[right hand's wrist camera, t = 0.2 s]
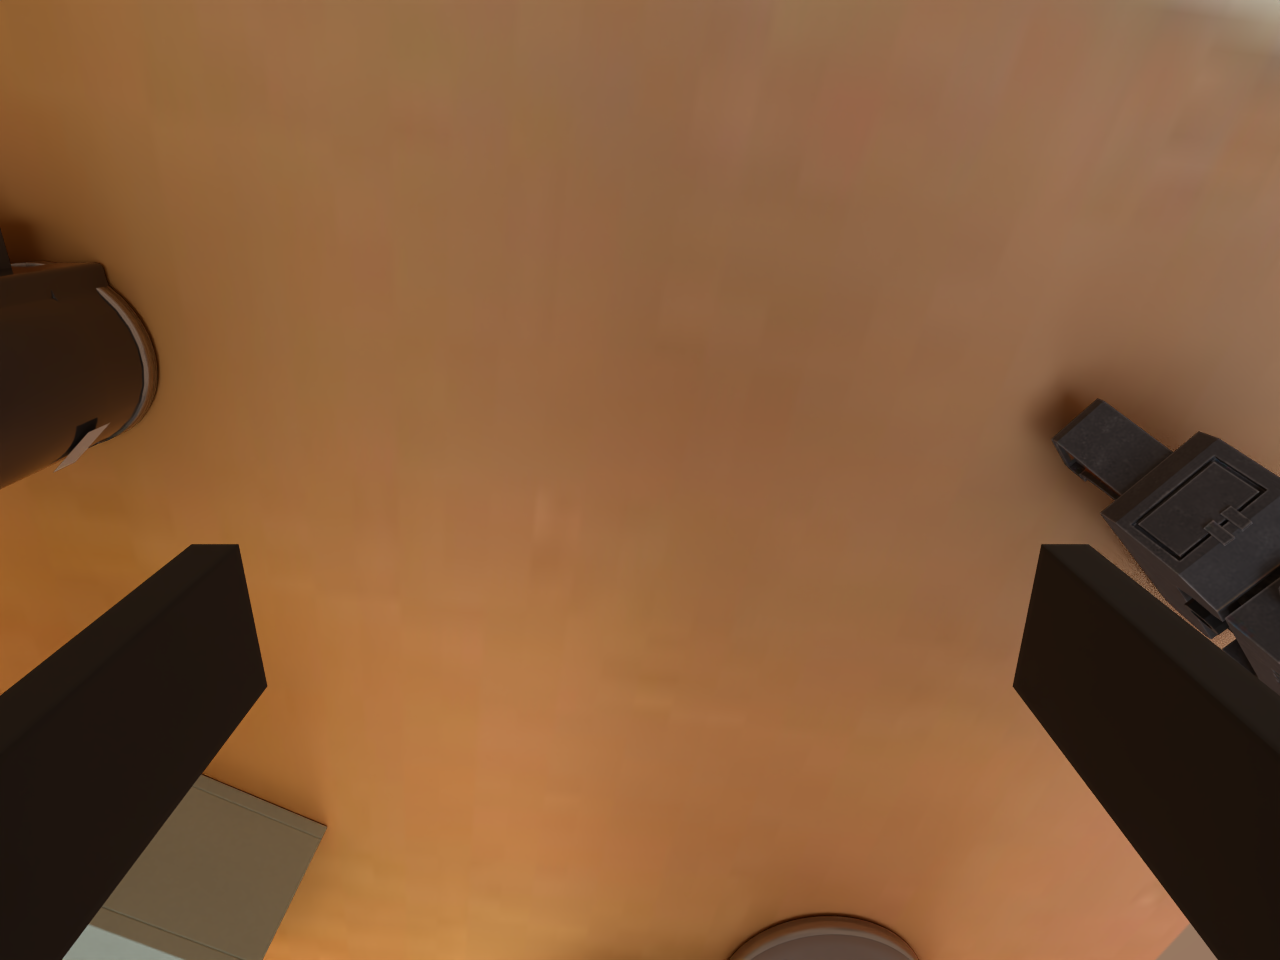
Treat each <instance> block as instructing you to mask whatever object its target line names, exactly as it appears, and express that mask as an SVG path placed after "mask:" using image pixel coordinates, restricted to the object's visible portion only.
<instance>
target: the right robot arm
mask: <svg viewBox="0 0 1280 960" xmlns="http://www.w3.org/2000/svg"><path fill="white" fill-rule="evenodd" d="M266 687H267V682H266V677H265V673H264V668H263V663H262V658H261V653H260V648H259V643H258V638H257V633H256V628H255V623H254V618H253V613H252V608H251V604H250V599H249V594H248V589H247V584H246V579H245V574H244V569H243V564H242V559H241V554H240V549H239V544H191V545H190V546H189V547H188V548H186V549H185V550H184V551H183V552H181V553H180V554H179V555H178V556H176V557H175V558H174V559H173V560H171V561H170V562H169V563H167V564H166V565H165V566H164V567H162V568H161V569H160V570H159V571H157V572H156V573H155V574H154V575H152V576H151V577H150V578H148V579H147V580H146V581H145V582H143V583H142V584H141V585H140V586H138V587H137V588H136V589H135V590H133V591H132V592H131V593H130V594H128V595H127V596H126V597H124V598H123V599H122V600H121V601H119V602H118V603H117V604H116V605H114V606H113V607H112V608H111V609H109V610H108V611H107V612H105V613H104V614H103V615H102V616H100V617H99V618H98V619H97V620H95V621H94V622H93V623H92V624H90V625H89V626H88V627H87V628H85V629H84V630H83V631H81V632H80V633H79V634H78V635H76V636H75V637H74V638H73V639H71V640H70V641H69V642H68V643H66V644H65V645H64V646H62V647H61V648H60V649H59V650H57V651H56V652H55V653H54V654H52V655H51V656H50V657H49V658H47V659H46V660H45V661H44V662H42V663H41V664H40V665H38V666H37V667H36V668H35V669H33V670H32V671H31V672H30V673H28V674H27V675H26V676H25V677H23V678H22V679H21V680H19V681H18V682H17V683H16V684H14V685H13V686H12V687H11V688H9V689H8V690H7V691H6V692H4V693H3V694H2V695H1V696H0V960H62V959H63V958H64V956H65V955H66V954H67V952H68V951H69V950H70V948H71V947H72V946H73V944H74V943H75V942H76V940H77V939H78V938H79V936H80V935H81V934H82V932H83V931H84V930H85V928H86V927H87V926H88V924H89V923H90V922H91V920H92V919H93V918H94V916H95V915H96V914H97V912H98V911H99V910H100V908H101V907H102V906H103V904H104V903H105V902H106V900H107V899H108V898H109V896H110V895H111V894H112V893H113V891H114V890H115V889H116V887H117V886H118V885H119V883H120V882H121V881H122V879H123V878H124V877H125V875H126V874H127V873H128V871H129V870H130V869H131V867H132V866H133V865H134V863H135V862H136V861H137V859H138V858H139V857H140V855H141V854H142V853H143V851H144V850H145V849H146V847H147V846H148V845H149V843H150V842H151V841H152V839H153V838H154V837H155V835H156V834H157V833H158V831H159V830H160V829H161V827H162V826H163V825H164V823H165V822H166V821H167V819H168V818H169V817H170V815H171V814H172V813H173V811H174V810H175V809H176V807H177V806H178V805H179V803H180V802H181V801H182V799H183V798H184V797H185V795H186V794H187V793H188V791H189V790H190V789H191V787H192V786H193V785H194V783H195V782H196V781H197V779H198V778H199V777H200V775H201V774H202V773H203V771H204V770H205V769H206V767H207V766H208V765H209V763H210V762H211V761H212V759H213V758H214V757H215V755H216V754H217V753H218V751H219V750H220V749H221V747H222V746H223V745H224V743H225V742H226V741H227V739H228V738H229V737H230V735H231V734H232V733H233V731H234V730H235V729H236V727H237V726H238V725H239V723H240V722H241V721H242V719H243V718H244V717H245V715H246V714H247V713H248V711H249V710H250V709H251V707H252V706H253V705H254V703H255V702H256V701H257V699H258V698H259V697H260V695H261V694H262V693H263V691H264V690H265V689H266ZM1013 687H1014V689H1015V690H1016V691H1017V693H1018V694H1019V695H1020V697H1021V698H1022V699H1023V701H1024V702H1025V703H1026V705H1027V706H1028V707H1029V709H1030V710H1031V711H1032V713H1033V714H1034V715H1035V717H1036V718H1037V719H1038V721H1039V722H1040V723H1041V725H1042V726H1043V727H1044V729H1045V730H1046V731H1047V733H1048V734H1049V735H1050V737H1051V738H1052V739H1053V741H1054V742H1055V743H1056V745H1057V746H1058V747H1059V749H1060V750H1061V751H1062V753H1063V754H1064V755H1065V757H1066V758H1067V759H1068V761H1069V762H1070V763H1071V765H1072V766H1073V767H1074V769H1075V770H1076V771H1077V773H1078V774H1079V775H1080V777H1081V778H1082V779H1083V781H1084V782H1085V783H1086V785H1087V786H1088V787H1089V789H1090V790H1091V791H1092V793H1093V794H1094V795H1095V797H1096V798H1097V799H1098V801H1099V802H1100V803H1101V805H1102V806H1103V807H1104V809H1105V810H1106V811H1107V813H1108V814H1109V815H1110V817H1111V818H1112V819H1113V821H1114V822H1115V823H1116V825H1117V826H1118V827H1119V829H1120V830H1121V831H1122V833H1123V834H1124V835H1125V837H1126V838H1127V839H1128V841H1129V842H1130V843H1131V845H1132V846H1133V847H1134V849H1135V850H1136V851H1137V853H1138V854H1139V855H1140V857H1141V858H1142V859H1143V861H1144V862H1145V863H1146V865H1147V866H1148V867H1149V869H1150V870H1151V871H1152V873H1153V874H1154V875H1155V877H1156V878H1157V879H1158V881H1159V882H1160V883H1161V885H1162V886H1163V887H1164V889H1165V890H1166V891H1167V893H1168V894H1169V895H1170V896H1171V898H1172V899H1173V900H1174V902H1175V903H1176V904H1177V906H1178V907H1179V908H1180V910H1181V911H1182V912H1183V914H1184V915H1185V916H1186V918H1187V919H1188V920H1189V922H1190V923H1191V924H1192V926H1193V927H1194V928H1195V930H1196V931H1197V932H1198V934H1199V935H1200V936H1201V938H1202V939H1203V940H1204V942H1205V943H1206V944H1207V946H1208V947H1209V948H1210V950H1211V951H1212V952H1213V954H1214V955H1215V956H1216V958H1217V959H1218V960H1280V696H1279V695H1278V694H1277V693H1276V692H1274V691H1273V690H1272V689H1271V688H1269V687H1268V686H1267V685H1266V684H1264V683H1263V682H1262V681H1261V680H1259V679H1258V678H1257V677H1255V676H1254V675H1253V674H1252V673H1250V672H1249V671H1248V670H1247V669H1245V668H1244V667H1243V666H1242V665H1240V664H1239V663H1238V662H1236V661H1235V660H1234V659H1233V658H1231V657H1230V656H1229V655H1228V654H1226V653H1225V652H1224V651H1223V650H1221V649H1220V648H1219V647H1218V646H1216V645H1215V644H1214V643H1212V642H1211V641H1210V640H1209V639H1207V638H1206V637H1205V636H1204V635H1202V634H1201V633H1200V632H1199V631H1197V630H1196V629H1195V628H1193V627H1192V626H1191V625H1190V624H1188V623H1187V622H1186V621H1185V620H1183V619H1182V618H1181V617H1180V616H1178V615H1177V614H1176V613H1175V612H1173V611H1172V610H1171V609H1169V608H1168V607H1167V606H1166V605H1164V604H1163V603H1162V602H1161V601H1159V600H1158V599H1157V598H1156V597H1154V596H1153V595H1152V594H1150V593H1149V592H1148V591H1147V590H1145V589H1144V588H1143V587H1142V586H1140V585H1139V584H1138V583H1137V582H1135V581H1134V580H1133V579H1132V578H1130V577H1129V576H1128V575H1126V574H1125V573H1124V572H1123V571H1121V570H1120V569H1119V568H1118V567H1116V566H1115V565H1114V564H1113V563H1111V562H1110V561H1109V560H1107V559H1106V558H1105V557H1104V556H1102V555H1101V554H1100V553H1099V552H1097V551H1096V550H1095V549H1094V548H1092V547H1091V546H1090V545H1089V544H1041V549H1040V554H1039V559H1038V564H1037V569H1036V574H1035V579H1034V584H1033V589H1032V594H1031V599H1030V604H1029V608H1028V613H1027V618H1026V623H1025V628H1024V633H1023V638H1022V643H1021V648H1020V653H1019V658H1018V663H1017V668H1016V673H1015V677H1014V682H1013ZM729 960H918V958H917V956H916V954H915V953H914V951H913V950H912V949H911V948H910V946H909V945H908V944H907V943H906V942H905V941H903V940H902V939H901V938H900V937H898V936H897V935H896V934H894V933H893V932H891V931H889V930H887V929H885V928H883V927H881V926H879V925H876V924H874V923H871V922H868V921H864V920H860V919H855V918H850V917H841V916H817V917H808V918H802V919H797V920H793V921H789V922H786V923H783V924H780V925H777V926H774V927H772V928H770V929H767V930H765V931H763V932H762V933H760V934H758V935H756V936H755V937H753V938H751V939H750V940H749V941H747V942H746V943H745V944H743V945H742V946H741V947H740V948H739V949H738V950H737V951H736V952H735V953H734V954H733V955H732V956H731V958H730V959H729Z"/></svg>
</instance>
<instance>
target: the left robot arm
mask: <svg viewBox="0 0 1280 960" xmlns="http://www.w3.org/2000/svg"><path fill="white" fill-rule="evenodd" d="M156 386H157V362H156V356H155V352H154V348H153V345H152V342H151V340H150V337H149V335H148V333H147V331H146V329H145V327H144V325H143V324H142V322H141V320H140V319H139V317H138V316H137V314H136V313H135V312H134V310H133V309H132V308H131V307H130V306H129V304H128V303H127V302H126V301H125V300H124V299H123V298H122V297H121V296H120V295H119V294H118V293H117V292H115V291H114V290H113V289H112V288H111V287H110V286H109V284H108V282H107V280H106V276H105V272H104V269H103V267H102V265H101V264H99V263H96V262H90V263H55V262H48V261H32V262H23V263H10V260H9V257H8V253H7V250H6V246H5V243H4V240H3V236H2V233H1V229H0V489H2V488H4V487H6V486H9V485H11V484H13V483H15V482H17V481H19V480H21V479H23V478H25V477H28V476H30V475H32V474H34V473H36V472H38V471H40V470H42V469H44V468H47V467H49V466H51V465H53V464H55V463H57V462H59V461H61V460H63V459H65V460H64V461H63V462H62V463H61V464H60V465H59V466H58V468H57V469H56V470H55V471H54V472H56V471H58V470H60V469H62V468H64V467H66V466H68V465H70V464H72V463H74V462H76V461H77V460H78V459H79V457H80V456H81V455H82V454H83V453H84V452H85V451H86V449H87V448H90V447H92V446H94V445H96V444H99V443H102V442H105V441H107V440H110V439H112V438H114V437H116V436H118V435H120V434H122V433H124V432H126V431H127V430H129V429H130V428H132V427H133V426H134V425H136V424H137V423H138V422H139V421H140V420H141V419H142V418H143V416H144V415H145V414H146V412H147V411H148V409H149V407H150V405H151V403H152V401H153V398H154V395H155V391H156ZM54 472H53V473H54Z"/></svg>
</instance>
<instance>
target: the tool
mask: <svg viewBox="0 0 1280 960" xmlns="http://www.w3.org/2000/svg"><path fill="white" fill-rule="evenodd" d="M1051 440H1052V442H1053V443H1054V445H1055V447H1056V449H1057V451H1058V453H1059V454H1060V456H1061V458H1062V460H1063V462H1064V463H1065V465H1066V466H1067V467H1068V468H1069V469H1070V470H1072V471H1073V472H1074V473H1075V474H1077V475H1078V476H1079V477H1080V478H1081V479H1083V480H1084V481H1085V482H1086V481H1087V480H1089V481H1090V482H1091V483H1093V484H1094V485H1096V486H1097V487H1098V488H1100V489H1101V490H1102V491H1104V492H1105V493H1106V494H1107V495H1109V496H1110V497H1111V498H1113V499H1114V500H1115V501H1114V502H1113V503H1112V504H1110V505H1109V506H1108V507H1107V508H1106V509H1104V510H1103V511H1102V512H1101V513H1100V514H1101V515H1102V516H1103V518H1104V519H1105V520H1106V522H1107V523H1108V524H1109V526H1110V527H1111V528H1112V530H1113V531H1114V532H1115V534H1116V535H1117V536H1118V538H1119V539H1120V540H1121V542H1122V543H1123V544H1124V546H1125V547H1126V548H1127V550H1128V551H1129V552H1130V553H1131V555H1132V556H1133V557H1134V559H1135V560H1136V561H1137V563H1138V564H1139V565H1140V567H1141V568H1142V569H1143V571H1144V572H1145V573H1146V575H1147V576H1148V577H1149V579H1150V580H1151V581H1152V583H1153V584H1154V585H1155V586H1156V588H1157V589H1158V590H1159V592H1160V593H1161V594H1162V596H1163V597H1164V598H1165V600H1166V601H1168V602H1169V603H1170V604H1171V605H1172V606H1173V607H1174V608H1175V609H1176V610H1177V611H1178V612H1179V613H1180V614H1181V615H1183V616H1184V617H1185V618H1186V619H1187V620H1188V621H1189V622H1191V623H1192V624H1193V625H1194V626H1195V627H1196V628H1197V629H1199V630H1200V631H1201V632H1202V633H1203V634H1204V635H1206V636H1207V637H1208V638H1210V639H1212V638H1214V637H1215V636H1216V635H1219V634H1220V633H1222V632H1223V631H1224V630H1226V629H1227V628H1228V629H1229V630H1230V631H1231V632H1232V633H1233V634H1234V636H1235V637H1236V639H1235V640H1234V641H1233V642H1231V643H1230V644H1228V645H1227V646H1226V647H1224V648H1223V649H1222V650H1223V651H1224V652H1225V653H1226V654H1228V655H1229V656H1230V657H1231V658H1233V659H1234V660H1235V661H1236V662H1238V663H1239V664H1240V665H1242V666H1243V667H1244V668H1245V669H1247V670H1248V671H1249V672H1250V673H1252V674H1253V675H1254V676H1255V677H1257V678H1258V679H1259V680H1261V681H1262V682H1263V683H1264V684H1266V685H1267V686H1268V687H1269V688H1271V689H1272V690H1273V691H1274V692H1276V693H1277V694H1278V695H1279V696H1280V477H1278V476H1277V475H1275V474H1274V473H1272V472H1270V471H1269V470H1267V469H1266V468H1264V467H1263V466H1261V465H1260V464H1258V463H1256V462H1255V461H1253V460H1252V459H1250V458H1249V457H1247V456H1246V455H1244V454H1242V453H1241V452H1239V451H1238V450H1236V449H1235V448H1233V447H1232V446H1230V445H1228V444H1227V443H1225V442H1224V441H1222V440H1221V439H1219V438H1216V437H1214V436H1211V435H1208V434H1205V433H1202V432H1197V433H1196V434H1195V435H1194V436H1193V437H1191V438H1190V439H1189V440H1188V441H1187V442H1185V443H1184V444H1183V445H1182V446H1180V447H1179V448H1178V449H1177V450H1176V451H1174V452H1172V451H1171V450H1169V449H1168V448H1167V447H1165V446H1164V445H1163V444H1161V443H1160V442H1159V441H1157V440H1156V439H1155V438H1153V437H1152V436H1150V435H1149V434H1148V433H1146V432H1145V431H1144V430H1142V429H1141V428H1140V427H1138V426H1137V425H1136V424H1134V423H1133V422H1132V421H1130V420H1129V419H1128V418H1126V417H1125V416H1124V415H1122V414H1121V413H1120V412H1118V411H1117V410H1116V409H1114V408H1113V407H1112V406H1110V405H1109V404H1107V403H1106V402H1105V401H1103V400H1100V399H1098V398H1097V399H1096V400H1095V401H1094V402H1093V403H1092V404H1091V405H1089V406H1088V407H1087V408H1086V409H1085V410H1084V411H1083V412H1081V413H1080V414H1079V415H1078V416H1077V417H1076V418H1075V419H1074V420H1072V421H1071V422H1070V423H1069V424H1068V425H1067V426H1066V427H1064V428H1063V429H1062V430H1061V431H1060V432H1059V433H1058V434H1056V435H1055V436H1054V437H1053V438H1052V439H1051Z"/></svg>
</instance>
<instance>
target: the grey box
mask: <svg viewBox="0 0 1280 960" xmlns="http://www.w3.org/2000/svg"><path fill="white" fill-rule="evenodd" d="M326 829H327V827H326V826H324V825H322V824H319V823H317V822H314V821H312V820H310V819H307V818H305V817H302V816H300V815H298V814H295V813H293V812H290V811H288V810H286V809H283V808H281V807H278V806H276V805H274V804H271V803H269V802H266V801H264V800H262V799H259V798H257V797H254V796H252V795H250V794H247V793H245V792H242V791H240V790H237V789H235V788H233V787H230V786H228V785H225V784H223V783H221V782H218V781H216V780H213V779H211V778H209V777H206V776H204V775H200V777H199V778H198V779H197V781H196V782H195V783H194V785H193V786H192V787H191V789H190V790H189V791H188V793H187V794H186V795H185V797H184V798H183V799H182V801H181V802H180V803H179V805H178V806H177V807H176V809H175V810H174V811H173V813H172V814H171V815H170V817H169V818H168V819H167V821H166V822H165V823H164V825H163V826H162V827H161V829H160V830H159V831H158V833H157V834H156V835H155V837H154V838H153V839H152V841H151V842H150V843H149V845H148V846H147V847H146V849H145V850H144V851H143V853H142V854H141V855H140V857H139V858H138V859H137V861H136V862H135V863H134V865H133V866H132V867H131V869H130V870H129V871H128V873H127V874H126V875H125V877H124V878H123V879H122V881H121V882H120V883H119V885H118V886H117V887H116V889H115V890H114V891H113V893H112V894H111V895H110V896H109V898H108V899H107V900H106V902H105V903H104V904H103V906H102V907H101V908H100V910H99V911H98V912H97V914H96V915H95V916H94V918H93V919H92V920H91V922H90V923H89V924H88V926H87V927H86V928H85V930H84V931H83V932H82V934H81V935H80V936H79V938H78V939H77V940H76V942H75V943H74V944H73V946H72V947H71V948H70V950H69V951H68V952H67V954H66V955H65V956H64V958H63V959H62V960H263V958H264V956H265V954H266V952H267V950H268V948H269V946H270V944H271V942H272V940H273V938H274V935H275V933H276V931H277V929H278V927H279V925H280V923H281V921H282V919H283V917H284V915H285V913H286V911H287V909H288V907H289V905H290V903H291V901H292V899H293V897H294V895H295V892H296V890H297V888H298V886H299V884H300V882H301V880H302V878H303V876H304V874H305V872H306V870H307V868H308V866H309V864H310V862H311V860H312V858H313V856H314V854H315V852H316V849H317V847H318V845H319V843H320V841H321V839H322V837H323V835H324V833H325V831H326Z"/></svg>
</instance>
